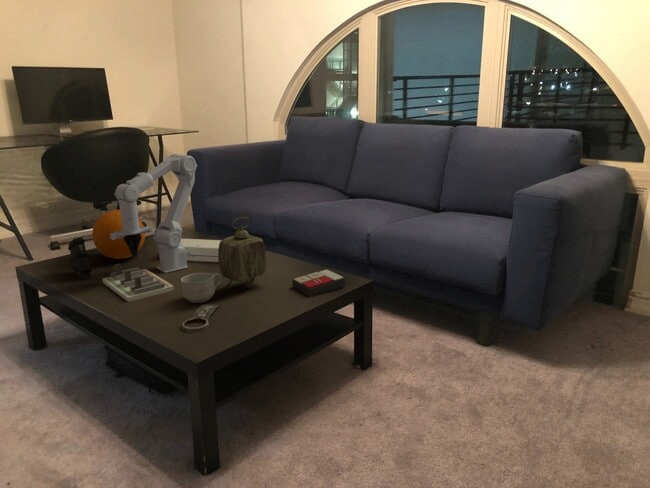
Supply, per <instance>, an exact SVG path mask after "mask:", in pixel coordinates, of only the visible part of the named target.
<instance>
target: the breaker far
mask: <svg viewBox="0 0 650 488" xmlns="http://www.w3.org/2000/svg"><path fill="white" fill-rule="evenodd" d="M122 271H123V270H122V265H121V263H116V264H114V272H116V274H115V276H116V275H120V274H122Z"/></svg>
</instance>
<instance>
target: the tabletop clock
mask: <svg viewBox="0 0 650 488" xmlns="http://www.w3.org/2000/svg"><path fill="white" fill-rule="evenodd" d="M244 219H245V220H247V224H246V225H244V226H243V224H241V225H239V227H235V223H236V222H237V221H238V220H244ZM231 225H232V228H233V229H234V230H236V231H235V232H234V235H230V236H228V237H226V238H225V237H224V238H223V239H222V241H220V244H219V249H218V261H219V262H218V266H219V267H218V268H219V272H220V274H221V276H222V278H223V277H224V278H225V279H228V280H229V282H228V283H227V284H225V288H226V289H227V290H229V289H231V284H232V283H233V282H237V283H238V282H239V283H241V282H245V281H246V288H247V289H251V287H252V284H250V281H251V282H254V281H255V280H256V279H255V278H258V277H260V276H262V275H263V274H264V273H266V268H267V254H266V253H267V252H266V245H265V243H264V241H263V238H261V237H258V236H254V235H251V234H249V232H248V231H247V230H246V228H248V226H249V225H250V219H249V218H248V217H247V216H239V217H237V218H235V219H234V220H233V222H232V224H231Z"/></svg>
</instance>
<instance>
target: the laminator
mask: <svg viewBox="0 0 650 488" xmlns="http://www.w3.org/2000/svg"><path fill="white" fill-rule="evenodd" d="M222 240H223V239H222ZM222 240H221V239H220V240H219V239H201V238H200V239H199V238H197V239H196V238H181V242H180V244H182V245H183V246H184V248H185V251H186V261H187V262H188V261H189V262H206V263H207V262H210V263H219V261H218V249H219V244H220V241H222Z"/></svg>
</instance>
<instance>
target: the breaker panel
mask: <svg viewBox="0 0 650 488" xmlns="http://www.w3.org/2000/svg"><path fill="white" fill-rule="evenodd" d="M125 270H130V272H131V280H132V281H128V282H125V275H124V271H125ZM121 271H122V274H120V275H116V276H115V274H116V272H115V271H114V272H111V273H110V276H109V277H108V276H107V277H103V278H101V279H102V283H103V284H104V285H105V286H107V287H108V288H109V289H111V290H112V291H113V292H115V293H116V294H117V295H118V296H120V297H121V298H123V299H124V300H125V301H126V302H128V303H130V302H133V301H137V300H142V299H145V298H149V297H153V296H155V295H160V294H164V293H169V292H171V291H175V288H174V287H175V286H174V285H173V284H172V283H170V282H169V281H166V280H165V279H163V278H161V277H160V276H158V275H156V274H155V273H153V272H152V271H150V270H148V269H147V268H143V269H140V267H138V266H136V267H132V268H128V269H123V270H121ZM138 276H139V277H140V278H141V286H142V288H138V289H135V282H134V277H138Z"/></svg>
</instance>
